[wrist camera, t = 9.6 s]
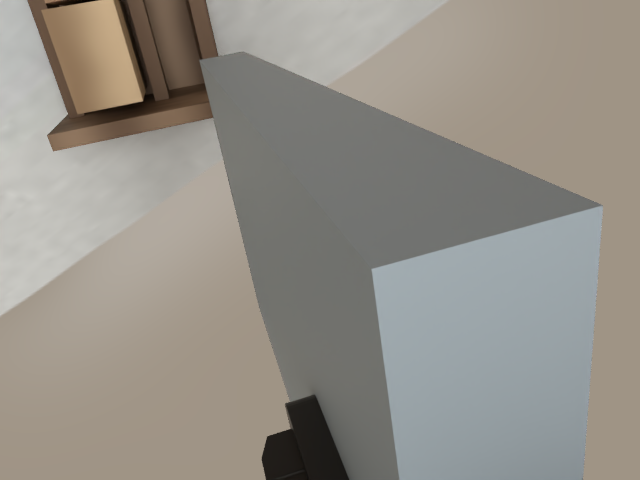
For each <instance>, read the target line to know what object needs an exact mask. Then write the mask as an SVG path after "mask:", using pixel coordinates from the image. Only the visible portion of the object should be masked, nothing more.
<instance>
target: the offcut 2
mask: <svg viewBox="0 0 640 480" xmlns="http://www.w3.org/2000/svg"><path fill="white" fill-rule="evenodd" d="M41 11H42V14H43V17H44V20H45V23H46V25H47V28H48V31H49V34H50V37H51V40H52V43H53V45H54V48H55V51H56V54H57V57H58V60H59V62H60V65H61V68H62V71H63V74H64V77H65V80H66V82H67V85H68V88H69V91H70V94H71V97H72V100H73V102H74V105H75V108H76V111H77V114H82V113H87V112H92V111H97V110H102V109H107V108H112V107H117V106H122V105H127V104H132V103H137V102H142V101H143V99H144V95H145V91H146V87H147V81H146V77H145V74H144V70H143V67H142V64H141V60H140V57H139V53H138V50H137V46H136V43H135V39H134V36H133V32H132V29H131V25H130V22H129V18H128V15H127V11H126V8H125V5H124V2H121V1H119V0H98V1H92V2H86V3H80V4H74V5H68V6H62V7H56V8H50V9H44V10H41Z"/></svg>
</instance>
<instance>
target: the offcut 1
mask: <svg viewBox="0 0 640 480" xmlns="http://www.w3.org/2000/svg"><path fill="white" fill-rule="evenodd" d="M44 1H45V3H47V4H55V5H63V6H68V5H74V4H80V3H86V2H92V1H98V0H44Z"/></svg>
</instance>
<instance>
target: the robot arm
mask: <svg viewBox="0 0 640 480" xmlns="http://www.w3.org/2000/svg"><path fill="white" fill-rule="evenodd" d="M285 407H286V411H287V415H288V420H289V423H290V428H291V429H289V430H286V431H283V432H280V433H277V434H273V435H270V436H268V437H267V440H266V444H265V448H264V451H263V455H262V463H263V467H264V472H265V476H266V480H349V477H348V475H347V472H346V470H345V467H344V465H343V462H342V460H341V457H340V455H339V452H338V450H337V447H336V445H335V442H334V440H333V437H332V435H331V432H330V430H329V427H328V425H327V422H326V420H325V417H324V415H323V412H322V410H321V407H320V405H319V402H318V400H317V398H316V396H315V394H314V395H311V396H307V397H304V398H301V399H298V400H295V401H292V402H289V403H286V404H285Z"/></svg>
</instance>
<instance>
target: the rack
mask: <svg viewBox="0 0 640 480" xmlns="http://www.w3.org/2000/svg"><path fill="white" fill-rule="evenodd" d="M119 1H121V2H124V5H125V8H126V11H127V15H128V18H129V22H130V25H131V29H132V32H133V36H134V39H135V43H136V46H137V50H138V53H139V57H140V60H141V64H142V67H143V70H144V74H145V77H146V81H147V87H146V91H145V95H144V99H143V101H142V102H137V103H132V104H127V105H122V106H117V107H112V108H107V109H102V110H97V111H92V112H87V113H82V114H77V111H76V108H75V105H74V102H73V100H72V97H71V94H70V91H69V88H68V85H67V82H66V80H65V77H64V74H63V71H62V68H61V65H60V62H59V60H58V57H57V54H56V51H55V48H54V45H53V43H52V40H51V37H50V34H49V31H48V28H47V25H46V23H45V20H44V17H43V14H42V11H41V10H44V9H50V8H56V7H62V6H63V5H55V4H47V3H45V1H44V0H28V3H29V6H30V9H31V12H32V14H33V17H34V20H35V23H36V25H37V28H38V31H39V34H40V37H41V39H42V42H43V45H44V48H45V51H46V53H47V56H48V59H49V62H50V65H51V67H52V70H53V73H54V76H55V79H56V81H57V84H58V87H59V90H60V93H61V95H62V98H63V101H64V104H65V106H66V109H67V112H68V115H67V116H66V117H65V118H64V119H63V120H62V121H61V122H60V123H59V124H58V125H57V126H56V127H55V128H54V129H53V130H52V131H51V132H50V133H49V134H48V135H47V136H48V139H49V142H50V144H51V147H52V149H53V151H57V150H62V149H67V148H71V147H76V146H81V145H86V144H90V143H95V142H100V141H105V140H109V139H114V138H119V137H123V136H128V135H133V134H138V133H142V132H147V131H152V130H157V129H161V128H166V127H171V126H175V125H180V124H185V123H190V122H194V121H199V120H204V119H209V118H213V115H212V110H211V106H210V102H209V98H208V94H207V90H206V86H205V82H204V77H203V73H202V69H201V65H200V61H199V60H202V59H207V58H213V57H218V53H217V48H216V44H215V40H214V35H213V31H212V27H211V22H210V18H209V13H208V9H207V5H206V0H119Z"/></svg>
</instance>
